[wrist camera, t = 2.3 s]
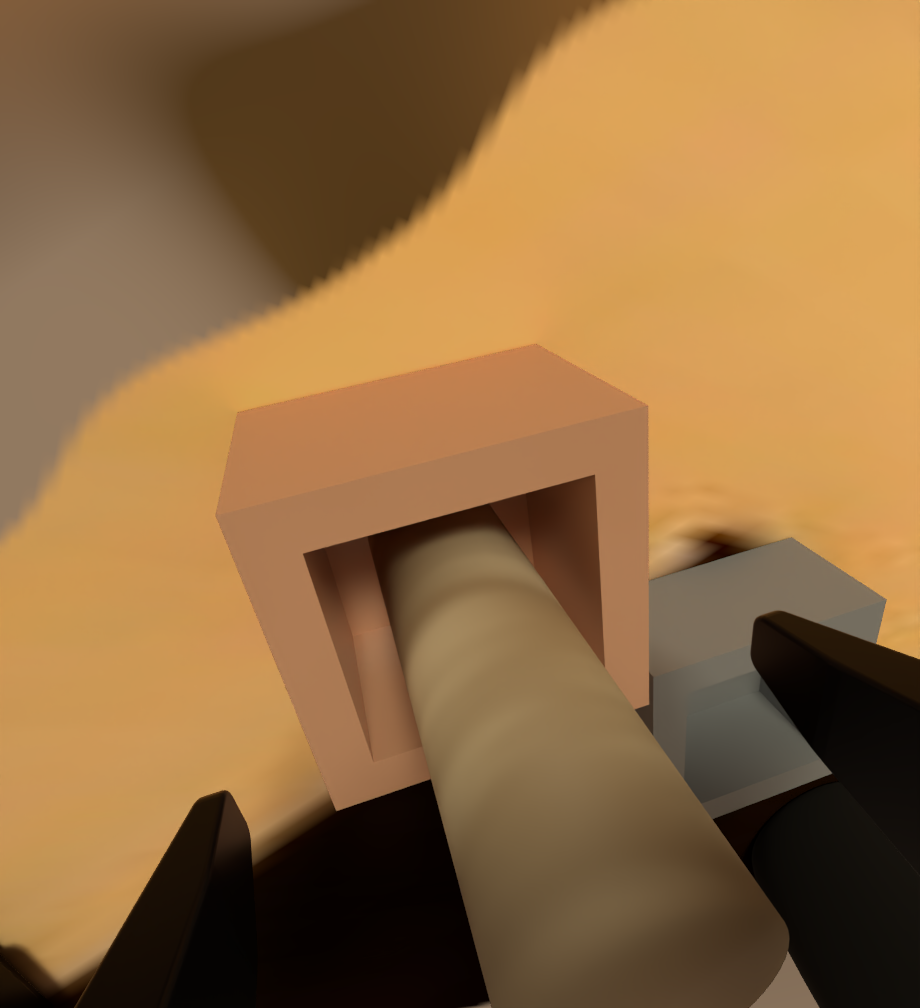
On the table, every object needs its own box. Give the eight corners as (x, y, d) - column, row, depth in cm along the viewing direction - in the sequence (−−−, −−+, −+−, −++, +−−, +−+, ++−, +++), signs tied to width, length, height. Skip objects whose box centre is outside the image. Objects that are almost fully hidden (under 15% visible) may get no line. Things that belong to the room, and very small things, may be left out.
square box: (322, 651, 16) (336, 811, 12) (237, 412, 13) (215, 514, 9) (558, 581, 18) (649, 704, 13) (536, 344, 14) (648, 405, 10)
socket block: (600, 752, 22) (653, 841, 18) (591, 598, 18) (653, 677, 15) (770, 692, 23) (846, 767, 20) (791, 537, 19) (886, 599, 16)
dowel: (382, 594, 15) (525, 1129, 6) (353, 488, 13) (487, 991, 5) (496, 561, 15) (774, 1016, 7) (480, 456, 14) (805, 861, 5)
